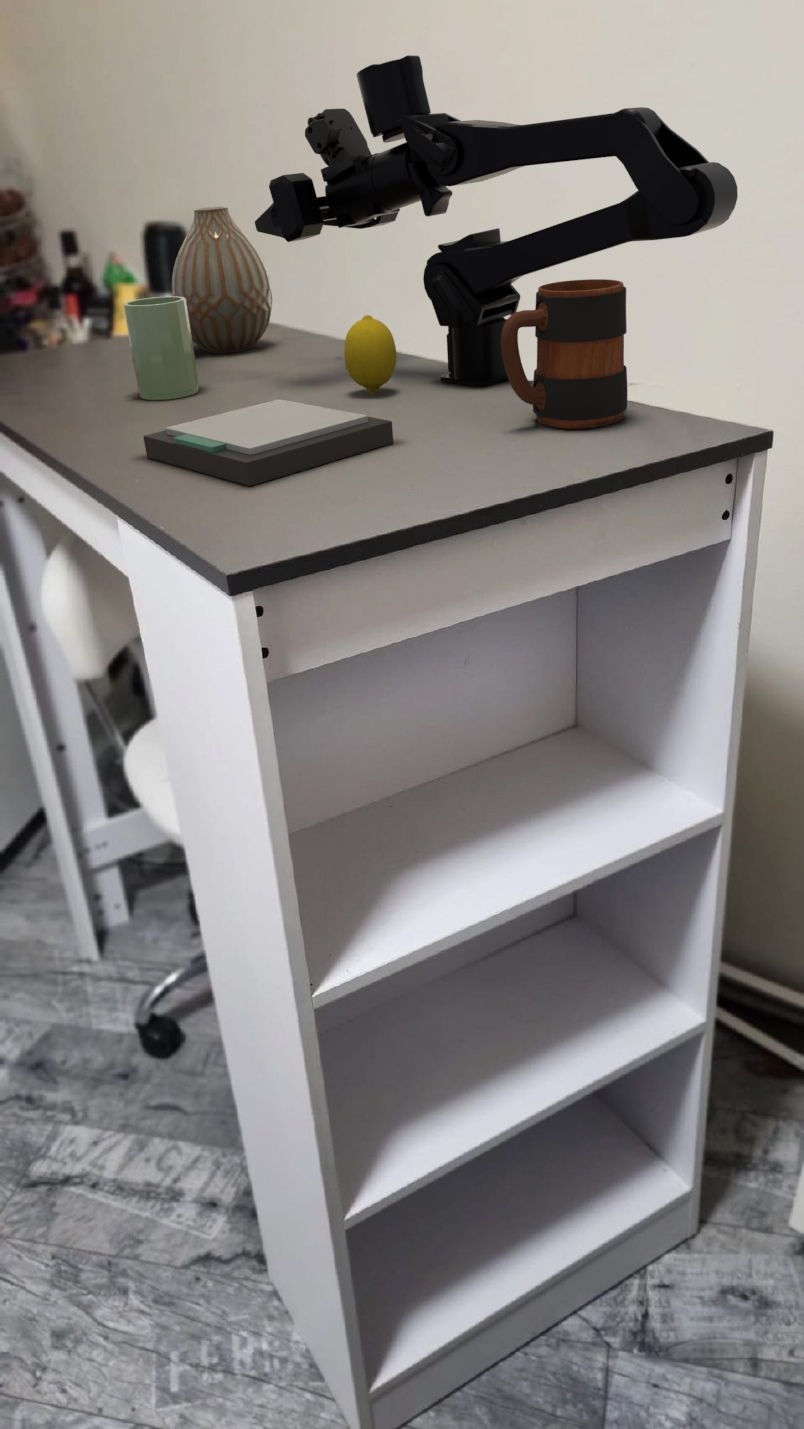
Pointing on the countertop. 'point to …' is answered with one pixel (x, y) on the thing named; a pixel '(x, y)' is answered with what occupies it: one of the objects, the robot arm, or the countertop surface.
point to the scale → (267, 440)
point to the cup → (162, 347)
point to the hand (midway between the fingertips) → (282, 222)
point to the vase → (222, 284)
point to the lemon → (370, 353)
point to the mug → (573, 353)
